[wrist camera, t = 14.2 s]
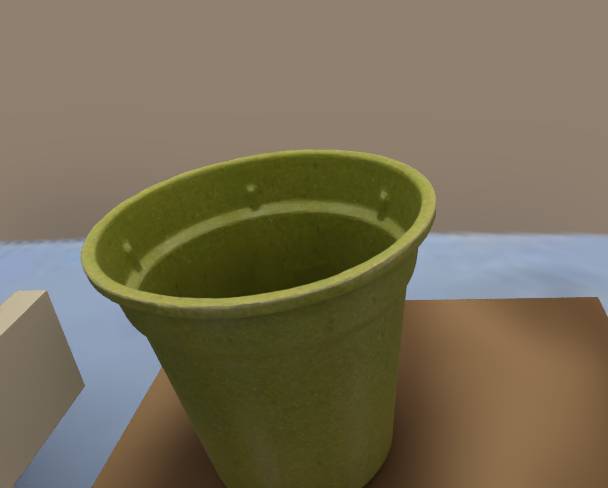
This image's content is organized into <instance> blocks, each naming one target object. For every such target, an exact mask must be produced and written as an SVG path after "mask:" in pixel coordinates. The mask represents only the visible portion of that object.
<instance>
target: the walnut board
mask: <svg viewBox="0 0 608 488" xmlns="http://www.w3.org/2000/svg"><path fill="white" fill-rule="evenodd" d="M92 488H227V487H226V486H225V485H224V483H223V482H222V480H221V479H220V477H219V475H218V474H217V472H216V470H215V468H214V466H213V464H212V462H211V460H210V459H209V457H208V455H207V453H206V451H205V449H204V447H203V445H202V443H201V441H200V439H199V437H198V435H197V433H196V431H195V429H194V427H193V425H192V423H191V421H190V419H189V417H188V416H187V414H186V412H185V410H184V408H183V406H182V404H181V402H180V400H179V398H178V396H177V394H176V392H175V390H174V388H173V387H172V385H171V383H170V381H169V379H168V377H167V375H166V373H165V371H164V369H163V367H162V368H161V370H160V371H159V373H158V375H157V376H156V378H155V380H154V382H153V383H152V385H151V387H150V388H149V390H148V392H147V394H146V395H145V397H144V399H143V400H142V402H141V404H140V406H139V407H138V409H137V411H136V412H135V414H134V416H133V418H132V419H131V421H130V423H129V424H128V426H127V428H126V430H125V431H124V433H123V435H122V436H121V438H120V440H119V442H118V443H117V445H116V447H115V448H114V450H113V452H112V454H111V455H110V457H109V459H108V461H107V462H106V464H105V466H104V467H103V469H102V471H101V473H100V474H99V476H98V478H97V479H96V481H95V483H94V485H93V486H92ZM362 488H608V317H607V315H606V313H605V311H604V309H603V307H602V305H601V302H600V300H599V298H598V297H576V298H517V299H458V300H405V305H404V316H403V327H402V338H401V348H400V359H399V368H398V378H397V388H396V400H395V411H394V423H393V437H392V443H391V447H390V450H389V453H388V456H387V458H386V459H385V461H384V463H383V465H382V466H381V468H380V469H379V471H378V472H377V473H376V474H375V476H374V477H373V478H372V479H371V480H370V481H369V482H368V483H367V484H366V485H365V486H363V487H362Z"/></svg>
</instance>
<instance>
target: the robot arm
mask: <svg viewBox="0 0 608 488" xmlns="http://www.w3.org/2000/svg"><path fill="white" fill-rule="evenodd" d="M84 387H85V385H84V382H83V380H82V377H81V375H80V372H79V370H78V367H77V365H76V362H75V360H74V357H73V355H72V352H71V350H70V347H69V345H68V342H67V340H66V337H65V335H64V332H63V330H62V327H61V325H60V322H59V320H58V317H57V315H56V313H55V310H54V308H53V305H52V303H51V300H50V298H49V295H48V293H47V290H38V291H16V292H15V293H14V294H13V295H11V296H10V297H9V298H8V299H7V300H6V301H5V302H4V303H3V304H2V305H1V306H0V488H12V487H13V486H14V484H15V483H16V482H17V480H18V479H19V477H20V476H21V475H22V473H23V472H24V470H25V469H26V468H27V466H28V465H29V464H30V462H31V461H32V459H33V458H34V457H35V455H36V454H37V452H38V451H39V450H40V448H41V447H42V445H43V444H44V443H45V441H46V440H47V438H48V437H49V436H50V434H51V433H52V431H53V430H54V429H55V427H56V426H57V424H58V423H59V422H60V420H61V419H62V417H63V416H64V415H65V413H66V412H67V410H68V409H69V408H70V406H71V405H72V403H73V402H74V401H75V399H76V398H77V397H78V395H79V394H80V392H81V391H82V390H83V388H84Z"/></svg>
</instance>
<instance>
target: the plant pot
mask: <svg viewBox="0 0 608 488" xmlns="http://www.w3.org/2000/svg"><path fill="white" fill-rule="evenodd" d="M435 214H436V196H435V192H434V189H433V187H432V186H431V184H430V182H429V181H428V180H427V179H426V178H425V177H424V176H423V175H422V174H421V173H419V172H418V171H417V170H415V169H413V168H412V167H410V166H408V165H406V164H404V163H402V162H399V161H397V160H393V159H389V158H387V157H384V156H380V155H375V154H369V153H362V152H356V151H344V150H293V151H281V152H275V153H265V154H260V155H259V154H258V155H253V156H248V157H242V158H238V159H234V160H231V161H227V162H221V163H217V164H212V165H209V166H205V167H201V168H199V169H195V170H191V171H189V172H185V173H182V174H180V175H177V176H174V177H172V178H171V179H169V180H167V181H163V182H160V183H157V184H156V185H154V186H151V187H149V188H147V189H145V190H143V191H142V192H140V193H138V194H137V195H136V196H133V197H131V198H129V199H128V200H125V201H124V202H122V203H121V204H119V205H118V206H117V207H115V208H114V209H113V210H111V211H110V212H109V213H108V214H107V215H106V216H105V217H103V218H102V219H101V220H100V221H99V222H98V223H97V224H96V225H95V226H94V227H93V229H92V230H91V232H90V233H89V235H88V236H87V238H86V240H85V242H84V245H83V247H82V251H81V262H82V267H83V269H84V271H85V273H86V275H87V277H88V279H89V281H90V283H91V284H92V285H93V287H94V288H95V289H96V290H97V291H98V292H99V293H101V294H102V295H103V296H105V297H106V298H108V299H110V300H111V301H113V302H115V303H117V304H119V305H120V307H121V308H122V310H123V312H124V313H125V315H126V317H127V318H128V320H129V321H130V322H131V324H132V325H133V326H134V327H135V328H136V329H137V330H138V331H139V332H141V333H142V334H143V335H144V336H146V337H147V339H148V341H149V342H150V344H151V346H152V348H153V350H154V352H155V354H156V356H157V358H158V360H159V361H160V363H161V365H162V367H163V369H164V371H165V373H166V375H167V377H168V379H169V381H170V383H171V385H172V387H173V388H174V390H175V392H176V394H177V396H178V398H179V400H180V402H181V404H182V406H183V408H184V410H185V412H186V414H187V416H188V417H189V419H190V421H191V423H192V425H193V427H194V429H195V431H196V433H197V435H198V437H199V439H200V441H201V443H202V445H203V447H204V449H205V451H206V453H207V455H208V457H209V459H210V460H211V462H212V464H213V466H214V468H215V470H216V472H217V474H218V475H219V477H220V479H221V480H222V482H223V483H224V485H225V486H226V487H227V488H362V487H363V486H365V485H366V484H367V483H368V482H369V481H370V480H371V479H372V478H373V477H374V476H375V474H376V473H377V472H378V471H379V469H380V468H381V466H382V465H383V463H384V461H385V459H386V458H387V456H388V453H389V450H390V447H391V443H392V437H393V423H394V411H395V400H396V388H397V378H398V368H399V359H400V348H401V338H402V327H403V316H404V305H405V296H406V287H407V284H408V283H409V281H410V279H411V277H412V274H413V272H414V269H415V265H416V260H417V253H418V247H419V246H420V244H421V243H422V242H423V241H424V239H425V238H426V237H427V235H428V233H429V231H430V229H431V226H432V225H433V222H434V219H435Z"/></svg>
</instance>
